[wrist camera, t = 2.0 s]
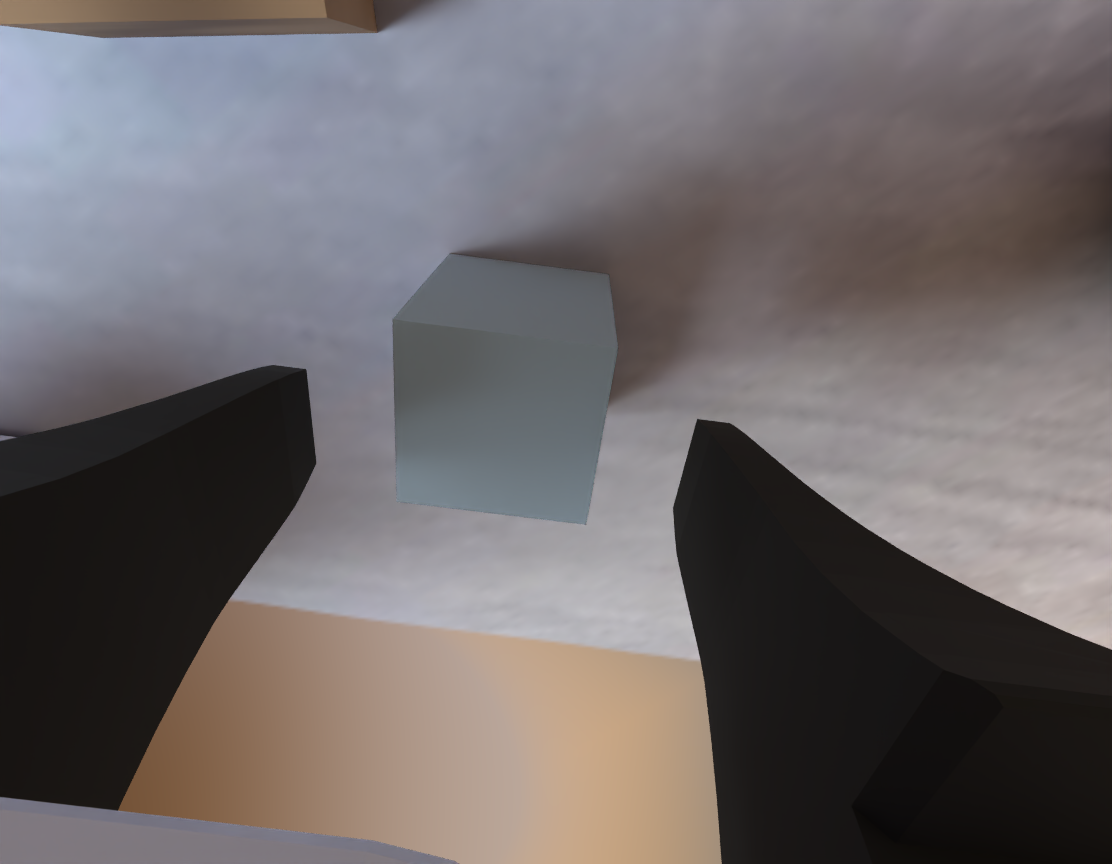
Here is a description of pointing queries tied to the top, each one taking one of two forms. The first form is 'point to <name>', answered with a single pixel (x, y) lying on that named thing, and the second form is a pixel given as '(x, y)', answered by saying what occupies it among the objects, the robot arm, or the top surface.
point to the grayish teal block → (503, 388)
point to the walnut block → (190, 17)
